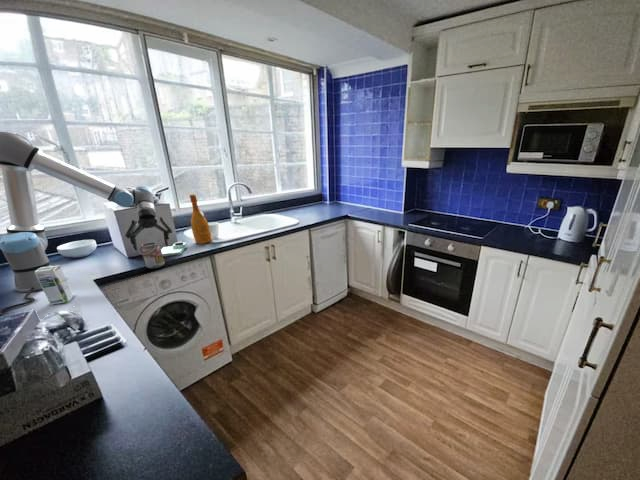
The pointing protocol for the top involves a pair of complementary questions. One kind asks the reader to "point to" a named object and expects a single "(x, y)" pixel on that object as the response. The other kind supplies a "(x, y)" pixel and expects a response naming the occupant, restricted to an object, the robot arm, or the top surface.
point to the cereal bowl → (77, 248)
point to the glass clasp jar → (152, 255)
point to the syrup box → (54, 284)
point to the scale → (173, 250)
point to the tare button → (178, 243)
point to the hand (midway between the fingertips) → (151, 246)
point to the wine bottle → (199, 224)
